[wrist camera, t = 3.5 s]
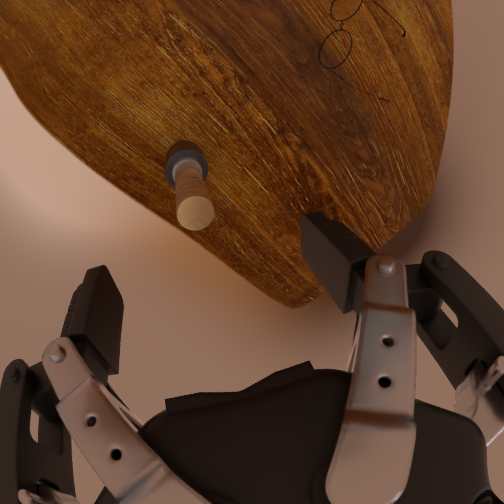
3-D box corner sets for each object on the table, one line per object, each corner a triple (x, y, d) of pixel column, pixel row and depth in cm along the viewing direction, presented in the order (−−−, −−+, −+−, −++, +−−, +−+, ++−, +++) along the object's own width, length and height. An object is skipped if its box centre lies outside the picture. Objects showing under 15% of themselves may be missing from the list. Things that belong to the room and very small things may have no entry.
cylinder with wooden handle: (170, 179, 26) (172, 250, 15) (163, 145, 24) (153, 191, 13) (205, 170, 27) (234, 234, 15) (198, 137, 25) (223, 174, 13)
